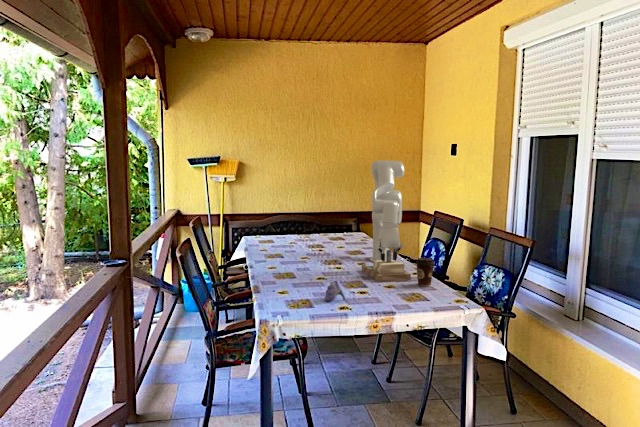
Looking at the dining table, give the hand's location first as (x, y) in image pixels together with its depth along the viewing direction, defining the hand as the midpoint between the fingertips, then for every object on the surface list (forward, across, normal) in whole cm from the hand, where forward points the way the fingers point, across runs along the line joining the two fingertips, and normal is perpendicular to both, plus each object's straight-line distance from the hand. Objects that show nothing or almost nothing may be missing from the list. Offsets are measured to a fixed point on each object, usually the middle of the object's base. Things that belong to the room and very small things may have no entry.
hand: (388, 260), depth 250 cm
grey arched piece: (+9, +38, +33) cm, 52 cm away
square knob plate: (+9, 0, 0) cm, 9 cm away
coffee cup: (+9, -11, +18) cm, 23 cm away
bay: (+9, 0, -4) cm, 10 cm away
